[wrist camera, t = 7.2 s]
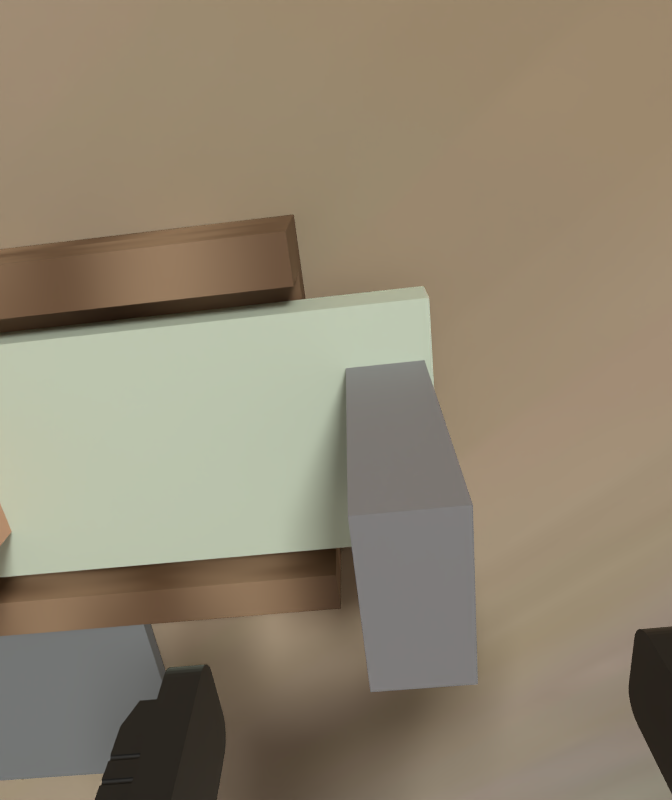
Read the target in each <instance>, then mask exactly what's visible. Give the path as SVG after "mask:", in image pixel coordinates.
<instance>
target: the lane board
mask: <svg viewBox="0 0 672 800" xmlns="http://www.w3.org/2000/svg"><path fill="white" fill-rule="evenodd" d="M302 299H305V293H304V285H303V278H302V271H301V264H300V257H299V250H298V242H297V235H296V228H295V221H294V215H286V216H277V217H269V218H261V219H252V220H244V221H235V222H227V223H218V224H210V225H202V226H193V227H185V228H176V229H168V230H159V231H151V232H142V233H134V234H126V235H117V236H109V237H100V238H92V239H83V240H75V241H67V242H58V243H50V244H41V245H33V246H24V247H16V248H7V249H0V333H3V332H12V331H21V330H30V329H39V328H48V327H58V326H67V325H76V324H85V323H94V322H103V321H112V320H121V319H130V318H139V317H148V316H157V315H166V314H175V313H184V312H193V311H202V310H211V309H220V308H229V307H238V306H247V305H256V304H266V303H275V302H284V301H293V300H302ZM339 608H341V551H340V548H331V549H320V550H308V551H297V552H285V553H274V554H262V555H251V556H240V557H228V558H217V559H205V560H194V561H182V562H171V563H159V564H148V565H137V566H125V567H114V568H102V569H91V570H79V571H68V572H56V573H45V574H33V575H22V576H11V577H0V636H9V635H21V634H33V633H46V632H58V631H70V630H82V629H94V628H107V627H119V626H131V625H143V624H156V623H168V622H180V621H192V620H204V619H217V618H229V617H241V616H253V615H266V614H278V613H290V612H302V611H314V610H327V609H339Z"/></svg>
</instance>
